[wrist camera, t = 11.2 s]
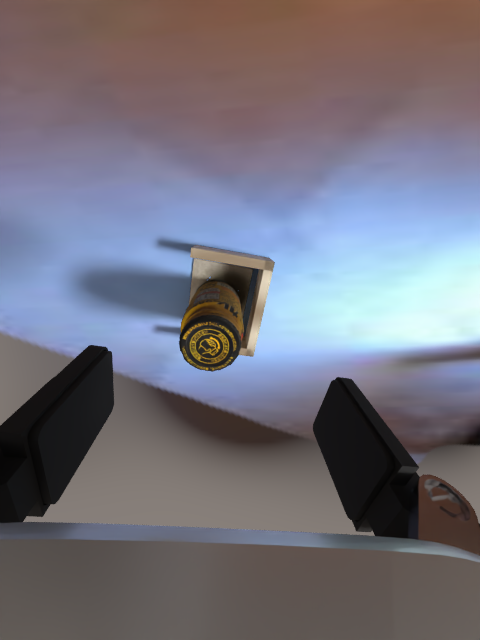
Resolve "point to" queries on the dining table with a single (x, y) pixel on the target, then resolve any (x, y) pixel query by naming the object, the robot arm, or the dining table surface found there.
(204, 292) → the condiment
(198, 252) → the u rest
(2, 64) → the dining table surface
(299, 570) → the robot arm
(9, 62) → the dining table surface
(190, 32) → the dining table surface
